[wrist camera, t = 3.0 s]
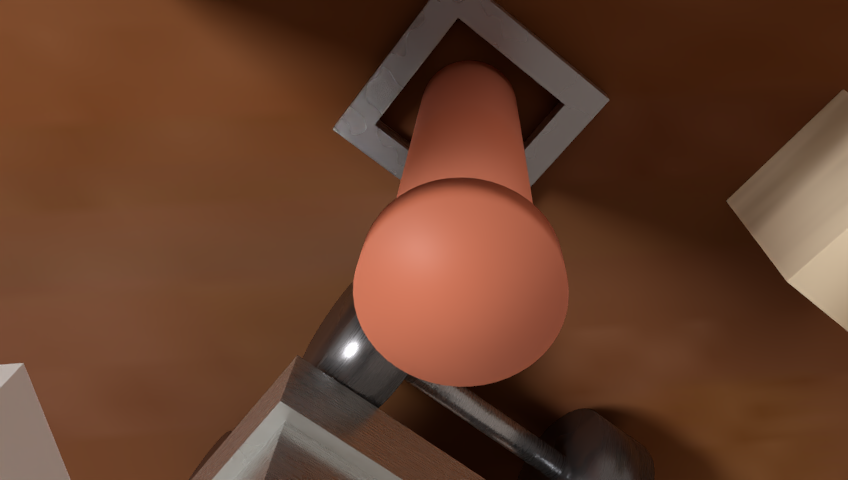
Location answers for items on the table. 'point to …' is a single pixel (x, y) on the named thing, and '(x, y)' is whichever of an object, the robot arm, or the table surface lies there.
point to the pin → (463, 243)
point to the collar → (507, 36)
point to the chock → (806, 209)
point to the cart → (395, 425)
